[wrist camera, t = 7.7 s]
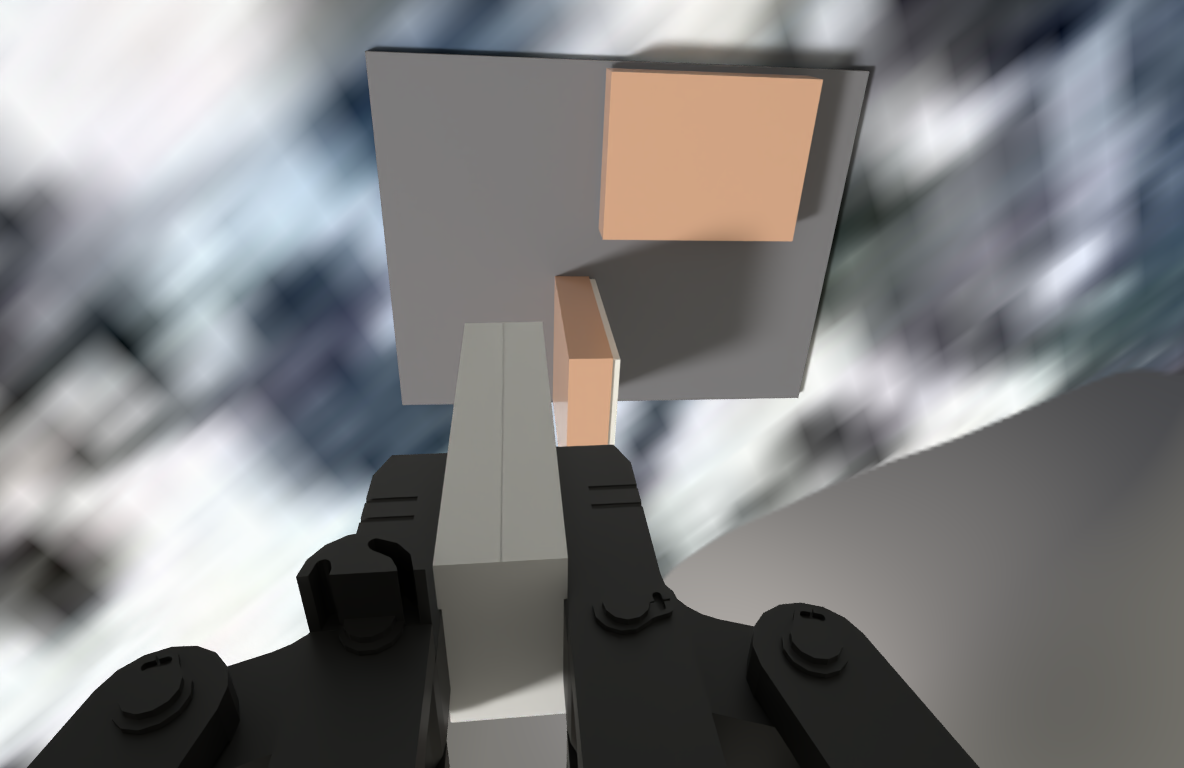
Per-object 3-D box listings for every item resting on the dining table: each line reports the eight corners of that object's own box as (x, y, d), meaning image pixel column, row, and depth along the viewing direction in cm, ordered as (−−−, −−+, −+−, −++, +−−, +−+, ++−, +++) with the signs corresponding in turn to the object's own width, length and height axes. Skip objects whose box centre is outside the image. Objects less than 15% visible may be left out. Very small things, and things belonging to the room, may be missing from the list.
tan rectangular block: (611, 71, 28) (823, 79, 29) (605, 67, 30) (805, 74, 31) (602, 239, 31) (792, 241, 32) (598, 226, 33) (777, 229, 34)
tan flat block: (554, 276, 34) (569, 358, 26) (594, 276, 34) (620, 358, 26) (552, 398, 37) (564, 503, 30) (589, 397, 38) (610, 502, 30)
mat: (366, 51, 29) (365, 51, 28) (865, 70, 31) (869, 71, 31) (403, 401, 37) (402, 404, 37) (795, 394, 39) (798, 397, 39)
